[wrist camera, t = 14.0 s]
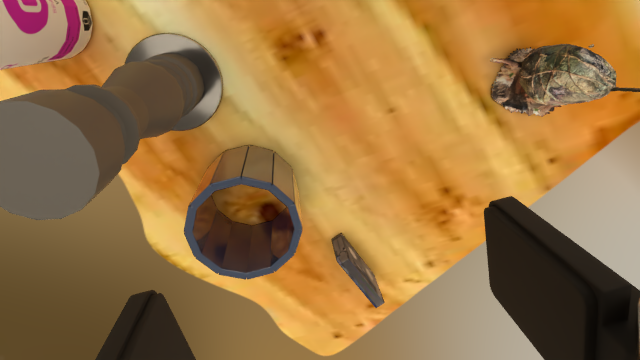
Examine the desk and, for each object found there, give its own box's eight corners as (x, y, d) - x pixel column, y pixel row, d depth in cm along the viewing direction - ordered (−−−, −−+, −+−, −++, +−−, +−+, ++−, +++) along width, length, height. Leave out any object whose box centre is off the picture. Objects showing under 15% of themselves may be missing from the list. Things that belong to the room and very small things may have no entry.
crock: (190, 159, 44) (166, 195, 35) (282, 135, 44) (283, 164, 35) (222, 239, 49) (208, 289, 39) (306, 217, 49) (312, 262, 39)
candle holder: (142, 108, 41) (-37, 216, 18) (143, 47, 39) (-58, 82, 16) (202, 117, 42) (106, 232, 19) (206, 58, 40) (105, 107, 17)
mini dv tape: (331, 238, 50) (337, 265, 45) (340, 232, 50) (348, 258, 44) (364, 279, 53) (374, 309, 47) (373, 273, 53) (384, 303, 47)
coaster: (108, 47, 39) (105, 47, 38) (203, 22, 39) (202, 22, 38) (148, 139, 43) (146, 141, 42) (235, 116, 43) (234, 117, 42)
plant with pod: (516, 14, 42) (703, 6, 23) (579, 77, 45) (786, 114, 27) (465, 76, 44) (599, 114, 25) (528, 132, 47) (688, 202, 29)
